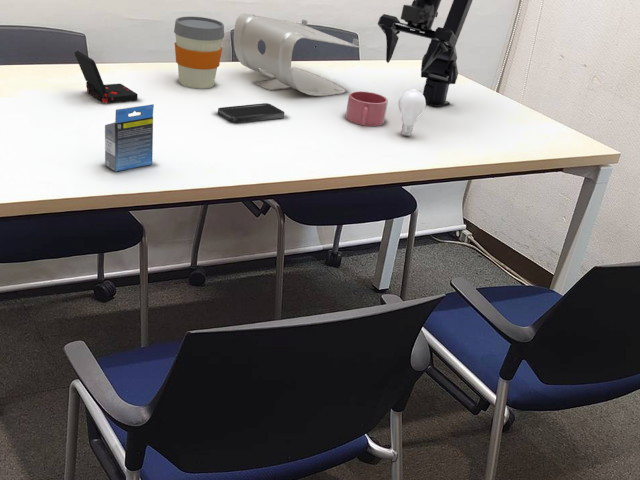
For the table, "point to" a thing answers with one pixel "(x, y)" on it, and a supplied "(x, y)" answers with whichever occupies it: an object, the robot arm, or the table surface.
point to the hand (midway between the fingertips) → (404, 66)
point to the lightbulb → (411, 109)
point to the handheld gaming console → (96, 86)
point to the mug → (366, 108)
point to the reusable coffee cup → (198, 50)
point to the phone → (250, 112)
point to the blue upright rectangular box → (129, 139)
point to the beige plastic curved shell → (281, 53)
